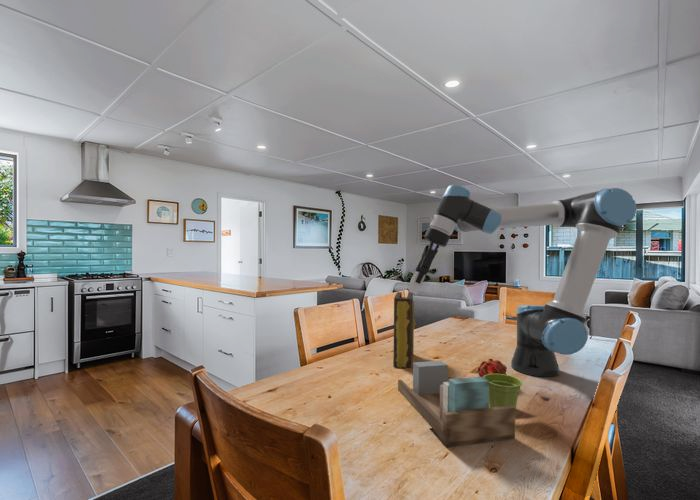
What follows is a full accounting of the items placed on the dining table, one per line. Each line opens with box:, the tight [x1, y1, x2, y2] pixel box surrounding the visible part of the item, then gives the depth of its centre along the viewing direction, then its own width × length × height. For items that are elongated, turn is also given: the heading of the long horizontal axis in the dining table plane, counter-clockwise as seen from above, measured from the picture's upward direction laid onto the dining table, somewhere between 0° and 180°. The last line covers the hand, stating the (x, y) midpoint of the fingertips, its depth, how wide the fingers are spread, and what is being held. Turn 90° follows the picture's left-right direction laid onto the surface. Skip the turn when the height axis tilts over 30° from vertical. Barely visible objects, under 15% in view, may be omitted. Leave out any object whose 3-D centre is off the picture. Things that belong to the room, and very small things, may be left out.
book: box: [392, 291, 416, 369], centre depth 136 cm, size 22×8×25 cm, turn 168°
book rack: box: [397, 376, 516, 448], centre depth 91 cm, size 17×29×13 cm, turn 13°
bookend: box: [412, 360, 449, 395], centre depth 103 cm, size 9×4×8 cm, turn 103°
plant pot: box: [483, 374, 523, 412], centre depth 92 cm, size 9×9×9 cm
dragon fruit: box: [477, 358, 508, 377], centre depth 111 cm, size 8×8×12 cm
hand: (411, 291), depth 113 cm, fingers open, 13 cm apart
